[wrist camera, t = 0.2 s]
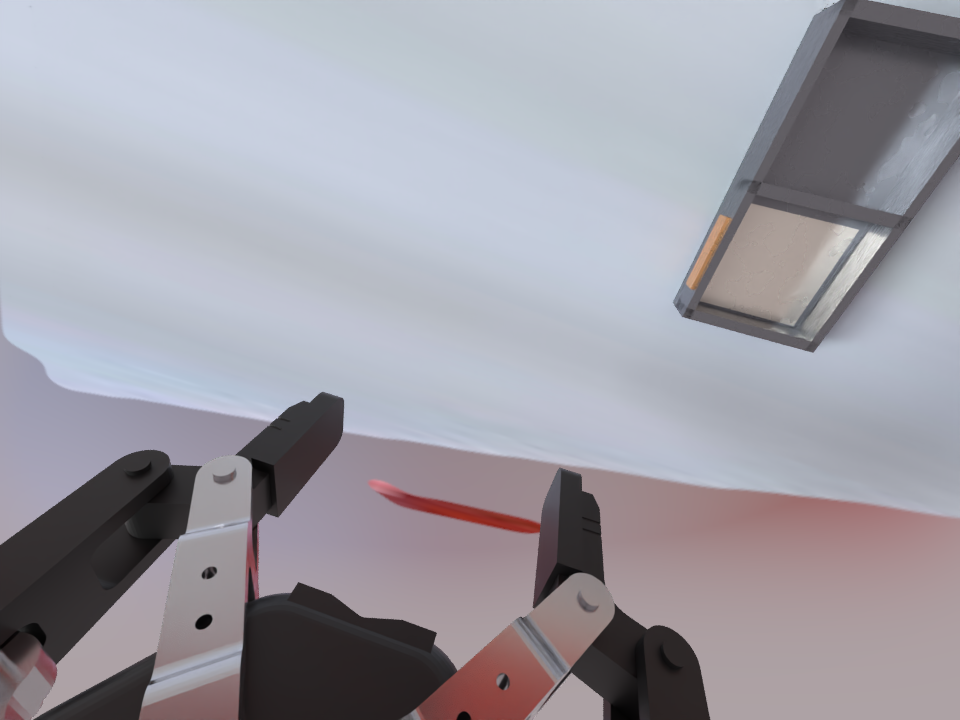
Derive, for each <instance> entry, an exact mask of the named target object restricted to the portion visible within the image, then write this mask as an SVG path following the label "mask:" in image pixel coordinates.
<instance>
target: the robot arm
mask: <svg viewBox="0 0 960 720" xmlns="http://www.w3.org/2000/svg"><path fill="white" fill-rule="evenodd" d="M343 416H344V400H343V398H341V397H338V396H334V395H331V394H328V393H325V392H321V393H320V394H318V395H317V396H316V397H315V398H314V399H313V400H312V401H311V402H310V403H309V402H305V401H302V402H300V403H298V404H296V405H293V406H291V407H289V408H288V409H287V410H286V411H285V412H283V413H282V414H281V415H280V416H279V418H278V419H275V420H274V421H273V422H272V423H271V424H270V426H268V427H267V428H265V429H264V430H263V431H262V432H261V433H260V434H259V435H258V436H257V437H255V438H254V439H253V440H252V441H251V442H250V443H249V444H248V445H246V446H245V447H244V448H243V449H242V450H241V451H239V452H238V453H237V454H236V455H228V456H222V457H218V458H215V459H213V460H211V461H209V462H207V463H206V464H205V465H203V466H183V465H171V463H170V459H169V457H168V455H167V454H165V453H164V452H161V451H157V450H144V451H139V452H134V453H131V454H129V455H126V456H124V457H122V458H120V459H119V460H117V461H115V462H114V463H113V464H111V465H110V466H109V467H107V468H106V469H105V470H103V471H102V472H100V473H99V474H98V475H96V476H95V477H93V478H92V479H91V480H89V481H88V482H87V483H85V484H84V485H82V486H81V487H80V488H78V489H77V490H76V491H74V492H73V493H72V494H70V495H69V496H67V497H66V498H65V499H63V500H62V501H60V502H59V503H58V504H56V505H55V506H53V507H52V508H51V509H49V510H48V511H47V512H45V513H44V514H42V515H41V516H40V517H38V518H37V519H36V520H34V521H33V522H32V523H30V524H29V525H27V526H26V527H25V528H23V529H22V530H20V531H19V532H18V533H16V534H15V535H14V536H12V537H11V538H9V539H8V540H7V541H6V542H4V543H3V544H1V545H0V720H31V718H32V717H33V716H34V715H35V714H36V713H37V712H38V711H39V709H40V708H41V706H42V704H43V700H44V699H45V698H46V696H47V695H48V694H49V692H50V690H51V689H52V687H53V684H54V683H55V680H56V676H57V667H56V664H57V663H58V662H59V661H60V660H61V659H62V658H63V657H64V656H65V655H66V654H67V653H68V652H69V651H70V650H71V649H72V648H73V646H75V644H76V643H77V642H78V641H79V640H80V639H81V638H82V637H83V636H84V635H85V634H86V633H87V632H88V631H89V630H90V629H91V628H92V627H93V626H94V624H95V623H96V622H97V621H98V620H99V619H100V618H101V617H102V616H103V615H104V614H105V613H106V612H107V611H108V610H109V608H111V607H112V606H113V605H114V603H115V602H116V601H117V600H118V599H119V598H120V597H121V596H122V595H123V594H124V593H125V592H126V591H127V590H128V589H129V588H130V587H131V586H132V584H133V583H134V582H135V581H136V580H137V579H138V578H139V577H140V576H141V575H142V574H143V573H144V572H145V571H146V570H147V569H148V568H149V567H150V566H151V565H152V564H153V562H154V561H155V560H156V559H157V558H158V557H159V556H160V555H161V554H162V553H163V552H164V551H165V550H166V549H167V548H168V547H169V546H170V544H172V542H173V541H174V540H175V539H178V543H177V548H176V553H175V559H174V564H173V569H172V574H171V580H170V585H169V590H168V596H167V601H166V607H165V612H164V618H163V622H162V628H161V633H160V639H159V644H158V650H157V652H156V653H154V654H152V655H151V656H148V657H146V658H145V659H143V660H141V661H139V662H137V663H135V664H134V665H132V666H130V667H128V668H126V669H124V670H123V671H121V672H119V673H117V674H115V675H113V676H112V677H110V678H108V679H106V680H104V681H102V682H101V683H99V684H97V685H95V686H93V687H91V688H89V689H88V690H86V691H84V692H82V693H80V694H78V695H76V696H75V697H73V698H71V699H69V700H67V701H66V702H64V703H62V704H60V705H58V706H56V707H54V708H53V709H51V710H49V711H47V712H46V713H44V714H42V715H40V716H39V717H37V718H35V719H34V720H533V718H534V717H535V716H536V715H537V714H538V712H539V711H540V710H541V709H542V708H543V707H544V705H545V704H546V703H547V702H548V701H549V699H550V698H551V697H552V696H553V695H554V694H555V692H556V691H557V690H558V689H559V688H560V686H561V685H562V684H563V683H564V682H565V681H566V679H567V678H568V677H569V676H570V675H571V673H573V674H574V675H575V676H576V677H578V678H579V679H580V680H581V681H583V682H584V683H585V684H587V685H588V686H589V687H590V688H591V689H593V690H594V691H595V692H596V693H598V694H599V695H600V696H602V697H603V698H604V699H603V701H604V702H603V703H604V704H603V707H604V708H603V709H604V710H603V711H604V712H603V717H604V719H603V720H710V717H709V712H708V707H707V702H706V696H705V691H704V686H703V680H702V675H701V670H700V666H699V662H698V659H697V657H696V655H695V653H694V651H693V650H692V648H691V647H690V645H689V644H688V643H687V642H686V640H685V639H684V638H683V637H682V636H680V635H679V634H678V633H677V632H675V631H674V630H672V629H670V628H668V627H665V626H660V625H658V626H653V627H651V628H649V629H648V630H647V629H646V628H645V627H643V626H642V625H640V624H639V623H637V622H636V621H634V620H633V619H631V618H630V617H629V616H627V615H626V614H625V613H623V612H622V611H621V610H620V609H619V608H618V607H617V606H616V604H615V603H614V601H613V598H612V596H611V594H610V592H609V591H608V589H607V587H606V586H605V582H604V571H603V554H602V540H601V526H600V512H599V511H600V509H599V507H598V505H597V503H596V501H595V499H594V496H593V495H592V494H589V493H586V492H583V491H582V477H581V474H578V473H575V472H571V471H568V470H565V469H562V468H559V469H558V471H557V473H556V476H555V478H554V480H553V482H552V485H551V487H550V489H549V492H548V494H547V496H546V499H545V502H544V505H543V510H542V517H541V527H540V538H539V548H538V559H537V570H536V580H535V590H534V601H533V608H534V610H533V611H531V612H530V613H529V614H528V615H527V616H526V617H524V618H522V617H519V618H517V619H516V620H515V621H513V622H512V623H511V624H510V625H509V626H508V627H507V628H505V629H504V630H503V631H502V632H501V633H500V634H499V635H498V636H496V637H495V638H494V639H493V640H492V641H491V642H490V643H489V644H487V646H485V647H484V648H483V649H482V650H481V651H480V652H479V653H477V654H476V655H475V656H474V657H473V658H472V659H471V660H470V661H468V662H467V663H466V664H465V665H464V666H463V667H462V668H461V669H460V670H458V671H457V669H456V668H455V666H454V664H453V663H452V662H451V661H450V659H449V658H448V657H447V655H446V654H445V653H444V652H443V651H442V650H441V649H439V648H438V647H437V646H435V645H434V640H435V637H436V634H437V633H436V632H434V631H431V630H428V629H425V628H423V627H420V626H417V625H414V624H411V623H409V622H406V621H403V620H394V619H377V618H364V617H361V616H359V615H358V614H356V613H355V612H354V611H352V610H351V609H350V608H349V607H347V606H346V605H345V604H343V603H342V602H341V601H340V600H338V599H337V598H336V597H334V596H333V595H332V594H329V593H326V592H324V591H321V590H318V589H315V588H313V587H309V586H307V585H304V584H302V583H299V582H298V584H297V585H296V587H295V589H294V590H293V592H292V593H281V594H274V595H269V596H265V597H262V598H259V585H258V563H259V557H258V556H259V523H258V522H259V521H260V520H261V519H262V518H263V517H264V515H265V514H266V513H267V514H270V515H272V516H275V517H279V516H280V515H281V513H282V512H283V511H284V510H285V509H286V507H287V506H288V505H289V504H290V502H291V501H292V500H293V499H294V498H295V496H296V495H297V494H298V493H299V491H300V490H301V489H302V488H303V486H304V485H305V484H306V483H307V482H308V480H309V479H310V478H311V477H312V475H313V474H314V473H315V472H316V471H317V469H318V468H319V467H320V466H321V464H322V463H323V462H324V461H325V460H326V458H327V457H328V456H329V455H330V454H331V452H332V451H333V450H334V449H335V447H336V446H337V444H338V443H339V441H340V439H341V436H342V432H343Z"/></svg>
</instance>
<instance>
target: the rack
mask: <svg viewBox="0 0 960 720" xmlns="http://www.w3.org/2000/svg"><path fill="white" fill-rule="evenodd" d="M959 155H960V18H956V17H950V16H945V15H940V14H935V13H930V12H925V11H920V10H915V9H910V8H904V7H899V6H894V5H889V4H884V3H879V2H874V1H869V0H840V1H839V2H837V3H835V4H834V5H832V6H830V7H828V8H827V9H825V10H823V11H822V12H820V13H818V14H816V15H815V16H814V17H813V19H812V21H811V23H810V25H809V27H808V30H807V32H806V34H805V36H804V38H803V40H802V42H801V44H800V46H799V48H798V50H797V52H796V54H795V56H794V58H793V60H792V62H791V64H790V66H789V68H788V70H787V72H786V74H785V76H784V78H783V80H782V82H781V84H780V86H779V88H778V90H777V92H776V94H775V96H774V99H773V101H772V103H771V105H770V107H769V109H768V111H767V113H766V115H765V117H764V119H763V121H762V123H761V125H760V127H759V129H758V131H757V133H756V135H755V137H754V139H753V141H752V143H751V145H750V147H749V149H748V151H747V153H746V155H745V157H744V159H743V161H742V163H741V165H740V168H739V170H738V172H737V174H736V176H735V178H734V180H733V182H732V184H731V186H730V188H729V190H728V192H727V194H726V196H725V198H724V200H723V202H722V204H721V206H720V208H719V210H718V212H717V214H716V216H715V218H714V220H713V222H712V224H711V226H710V228H709V230H708V232H707V234H706V237H705V239H704V241H703V243H702V245H701V247H700V249H699V251H698V253H697V255H696V257H695V259H694V261H693V263H692V265H691V267H690V269H689V271H688V273H687V275H686V277H685V279H684V281H683V283H682V285H681V287H680V289H679V291H678V293H677V295H676V297H675V299H674V301H673V304H674V305H675V307H676V308H677V310H678V311H679V313H680V314H681V316H682V317H685V318H688V319H692V320H696V321H699V322H703V323H707V324H710V325H714V326H718V327H721V328H725V329H729V330H732V331H736V332H740V333H743V334H747V335H751V336H754V337H758V338H762V339H765V340H769V341H772V342H776V343H780V344H783V345H787V346H791V347H794V348H798V349H802V350H805V351H809V352H814V351H815V350H816V348H817V347H818V346H819V344H820V343H821V342H822V340H823V339H824V338H825V336H826V335H827V334H828V332H829V331H830V329H831V328H832V327H833V325H834V324H835V323H836V321H837V320H838V319H839V317H840V316H841V315H842V313H843V312H844V311H845V309H846V308H847V306H848V305H849V304H850V302H851V301H852V300H853V298H854V297H855V296H856V294H857V293H858V292H859V290H860V289H861V288H862V286H863V285H864V283H865V282H866V281H867V279H868V278H869V277H870V275H871V274H872V273H873V271H874V270H875V269H876V267H877V266H878V265H879V263H880V262H881V261H882V259H883V258H884V256H885V255H886V254H887V252H888V251H889V250H890V248H891V247H892V246H893V244H894V243H895V242H896V240H897V239H898V238H899V236H900V235H901V233H902V232H903V231H904V229H905V228H906V227H907V225H908V224H909V223H910V221H911V220H912V219H913V217H914V216H915V215H916V213H917V212H918V211H919V209H920V208H921V206H922V205H923V204H924V202H925V201H926V200H927V198H928V197H929V196H930V194H931V193H932V192H933V190H934V189H935V188H936V186H937V185H938V183H939V182H940V181H941V179H942V178H943V177H944V175H945V174H946V173H947V171H948V170H949V169H950V167H951V166H952V165H953V163H954V162H955V160H956V159H957V158H958V156H959Z"/></svg>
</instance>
